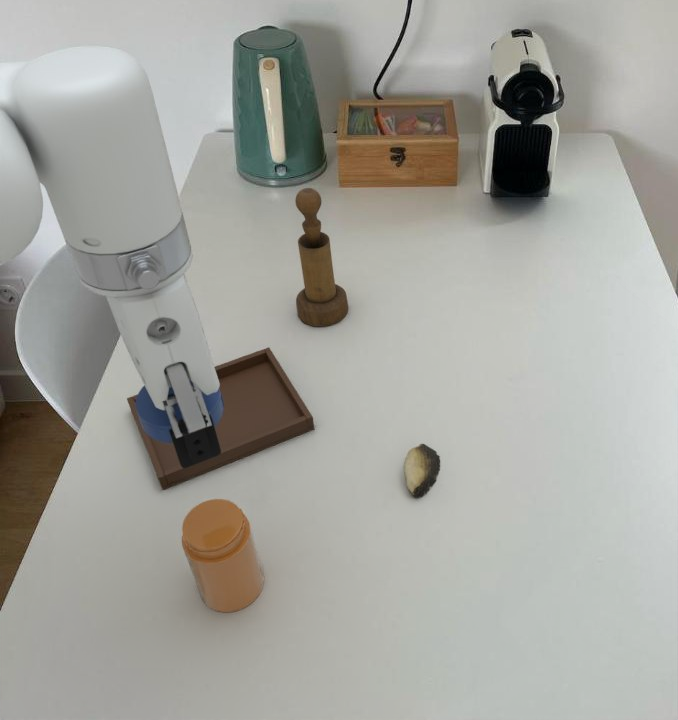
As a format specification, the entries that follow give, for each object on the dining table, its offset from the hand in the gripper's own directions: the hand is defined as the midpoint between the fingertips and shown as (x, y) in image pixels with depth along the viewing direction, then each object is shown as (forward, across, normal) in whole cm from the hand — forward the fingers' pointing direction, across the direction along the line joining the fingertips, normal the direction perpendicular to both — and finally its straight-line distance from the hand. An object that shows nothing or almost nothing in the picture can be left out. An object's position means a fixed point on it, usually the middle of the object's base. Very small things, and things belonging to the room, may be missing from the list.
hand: (187, 428), depth 66 cm
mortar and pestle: (+19, +31, -23) cm, 43 cm away
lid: (-3, 0, 0) cm, 3 cm away
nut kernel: (+19, +1, -21) cm, 29 cm away
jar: (+19, -2, 0) cm, 19 cm away
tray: (+19, +18, -5) cm, 27 cm away
